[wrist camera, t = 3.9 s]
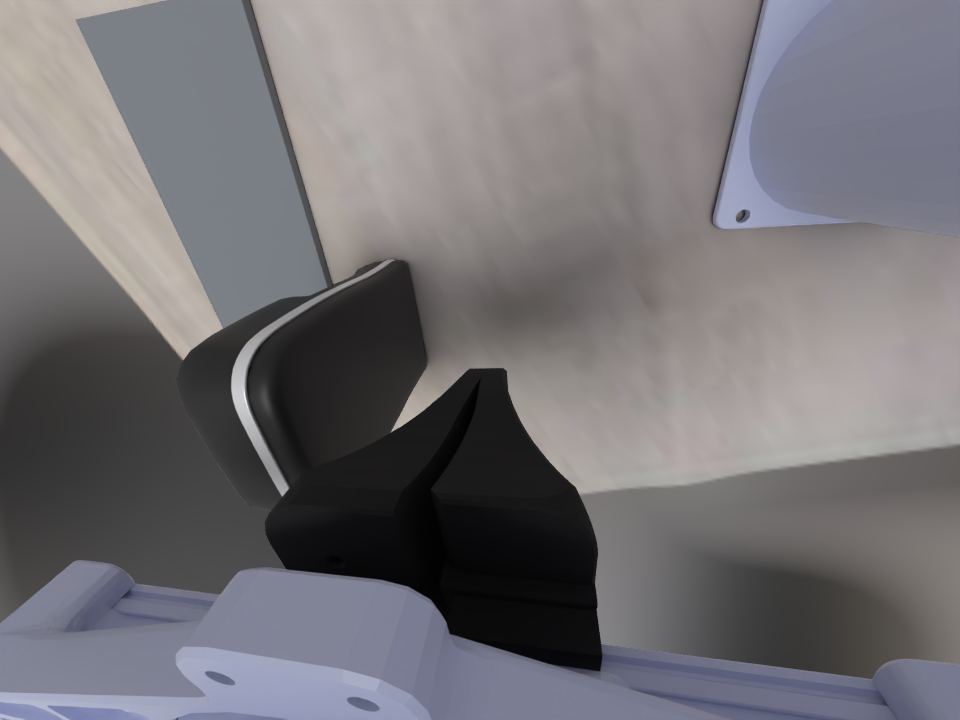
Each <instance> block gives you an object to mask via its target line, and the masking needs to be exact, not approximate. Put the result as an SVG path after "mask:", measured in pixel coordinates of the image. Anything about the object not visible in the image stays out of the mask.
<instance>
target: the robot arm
mask: <svg viewBox="0 0 960 720" xmlns="http://www.w3.org/2000/svg"><path fill="white" fill-rule="evenodd" d="M741 210H745V216H744V218H743V219H742V220H740V221H738V222H737V221H736V215H737V214H738V212H740V211H741ZM853 222H864V223H870V224H876V225H882V226H889V227H895V228H901V229H908V230H914V231H920V232H927V233H933V234H939V235H945V236H952V237H958V238H960V0H764V1H763V6H762V10H761V14H760V18H759V23H758V27H757V31H756V36H755V40H754V44H753V48H752V53H751V57H750V61H749V65H748V70H747V74H746V78H745V82H744V87H743V91H742V95H741V99H740V104H739V108H738V112H737V117H736V121H735V125H734V129H733V134H732V138H731V142H730V146H729V151H728V155H727V159H726V163H725V168H724V172H723V176H722V181H721V185H720V189H719V193H718V198H717V202H716V206H715V210H714V215H713V223H714V225H715V226H716V227H718V228H721V229H742V228H761V227H779V226H798V225H816V224H835V223H853ZM265 531H266V535H267V538H268V540H269V542H270V544H271V546H272V547H273V549H274V550H275V552H276V553H277V555H278V557H279V558H280V560H281V561H282V563H283V564H284V566H285V568H286V569H287V570H286V569H276V568H268V567H265V568H254V569H246V570H242V571H239V572H238V573H237V574H236V576H235V577H234V578H233V579H232V580H231V582H230V583H229V584H228V585H227V587H226V588H225V590H224V591H223V592H222V593H221V595H218V594H210V593H202V592H194V591H187V590H179V589H172V588H164V587H157V586H149V585H141V584H134V580H133V579H132V578H131V576H130V575H128V573H127V572H125V571H124V570H123V569H121V568H119V567H117V566H115V565H112V564H108V563H99V562H91V561H83V560H79V561H75V562H73V563H72V564H71V565H69V566H68V567H67V568H66V569H65V570H63V571H62V572H61V573H60V574H59V575H57V576H56V577H55V578H54V579H53V580H52V581H50V582H49V583H48V584H47V585H46V586H44V587H43V588H42V589H41V590H40V591H38V592H37V593H36V594H35V595H34V596H33V597H31V598H30V599H29V600H28V601H27V602H25V603H24V604H23V605H22V606H21V607H19V608H18V609H17V610H16V611H15V612H14V613H12V614H11V615H10V616H9V617H8V618H6V619H5V620H4V621H3V622H2V623H1V624H0V720H960V664H952V663H943V662H935V661H926V660H918V659H899V660H894V661H890V662H888V663H886V664H884V665H882V666H881V667H880V668H879V669H878V670H877V672H876V674H875V675H874V678H873V679H865V678H857V677H850V676H842V675H834V674H827V673H819V672H811V671H804V670H796V669H788V668H780V667H773V666H765V665H757V664H750V663H742V662H734V661H727V660H718V659H711V658H703V657H695V656H688V655H680V654H672V653H665V652H657V651H650V650H641V649H634V648H626V647H619V646H611V645H603V644H601V640H600V632H599V625H598V618H597V610H596V609H597V595H596V588H595V576H596V567H597V558H598V548H597V541H596V537H595V534H594V530H593V527H592V524H591V521H590V519H589V516H588V513H587V511H586V509H585V506H584V504H583V502H582V500H581V498H580V495H579V493H578V491H577V489H576V487H574V486H573V485H572V484H571V483H570V482H569V481H568V480H567V479H566V478H565V477H564V476H563V475H562V474H561V473H559V472H558V471H557V470H556V468H555V467H554V466H553V465H552V464H551V463H550V462H549V461H548V460H547V459H546V457H545V456H544V455H543V453H542V452H541V451H540V450H539V448H538V447H537V446H536V445H535V443H534V442H533V441H532V439H531V438H530V436H529V435H528V433H527V431H526V430H525V428H524V426H523V425H522V423H521V421H520V419H519V417H518V415H517V413H516V411H515V409H514V406H513V404H512V401H511V398H510V395H509V392H508V383H507V371H506V370H505V369H504V368H486V369H469V370H468V371H466V372H465V373H464V374H463V375H462V376H461V377H460V378H459V379H458V380H457V381H456V382H455V383H454V384H453V385H452V386H451V387H450V388H449V389H448V390H447V391H446V392H445V393H444V394H443V395H442V396H441V397H439V398H438V399H437V400H436V401H435V402H433V403H432V404H431V405H430V406H429V407H427V408H426V409H425V410H424V411H423V412H421V413H420V414H419V415H417V416H416V417H415V418H413V419H412V420H410V421H409V422H407V423H406V424H404V425H403V426H401V427H400V428H398V429H396V430H395V431H393V432H391V433H389V434H388V435H386V436H384V437H382V438H381V439H379V440H377V441H375V442H373V443H372V444H369V445H367V446H365V447H363V448H361V449H359V450H357V451H355V452H353V453H350V454H348V455H346V456H343V457H341V458H339V459H336V460H333V461H331V462H328V463H325V464H323V465H320V466H317V467H315V468H312V469H309V470H306V471H303V472H302V473H301V474H300V475H299V476H298V477H297V479H296V480H295V481H294V483H293V484H292V485H291V486H290V488H289V489H288V490H287V491H286V493H285V494H284V495H283V497H282V498H281V499H280V500H279V502H278V503H277V504H276V505H275V507H274V508H273V509H272V510H271V512H270V513H269V514H268V517H267V519H266V521H265Z"/></svg>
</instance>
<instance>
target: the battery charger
mask: <svg viewBox="0 0 960 720" xmlns="http://www.w3.org/2000/svg"><path fill="white" fill-rule="evenodd" d="M426 367H427V362H426V356H425V351H424V345H423V340H422V335H421V330H420V325H419V319H418V314H417V309H416V305H415V300H414V295H413V290H412V285H411V280H410V276H409V271H408V267H407V264H406V263H405V262H403V261H395V260H385V261H384V262H377V263H373V264H370V265H366V266H364V267H363V268H360V269H358V270H357V272H356V273H355V275H353V276H352V277H350V278H348V279H346V280H344V281H341V282H339V283H336V284H334V285H332V286H330V287H327V288H325V289H323V290H321V291H319V292H316V293H314V294H312V295H310V296H297V297H288V298H283V299H280V300H278V301H275V302H273V303H271V304H269V305H267V306H265V307H263V308H261V309H259V310H257V311H255V312H253V313H251V314H249V315H247V316H245V317H244V318H242V319H240V320H238V321H236V322H234V323H233V324H231V325H229V326H227V327H225V328H224V329H222V330H220V331H218V332H217V333H215V334H213V335H211V336H210V337H209V338H207V339H206V340H204V341H203V342H202V343H200V344H199V345H198V346H196V347H195V348H194V349H192V350H191V351H190V352H189V354H188V355H187V356H186V358H185V359H184V360H183V362H182V363H181V365H180V369H179V372H178V375H177V390H178V396H179V398H180V401H181V403H182V405H183V408H184V410H185V412H186V413H187V415H188V417H189V419H190V420H191V422H192V423H193V425H194V427H195V428H196V430H197V432H198V434H199V435H200V437H201V439H202V440H203V442H204V444H205V445H206V447H207V448H208V450H209V452H210V454H211V455H212V457H213V458H214V460H215V461H216V463H217V464H218V466H219V467H220V469H221V470H222V471H223V473H224V474H225V476H226V477H227V479H228V480H229V482H230V483H231V485H232V486H233V487H234V489H235V490H236V492H237V493H238V494H239V495H240V496H241V497H242V498H243V499H244V500H245V501H246V502H247V503H248V504H249V505H250V506H252V507H255V508H259V509H263V510H267V511H271V510H272V509H273V508H274V507H275V505H276V504H277V503H278V502H279V500H280V499H281V498H282V497H283V495H284V494H285V493H286V491H287V490H288V489H289V488H290V486H291V485H292V484H293V483H294V481H295V480H296V479H297V477H298V476H299V475H300V474H301V473H302V472H303V471H306V470H309V469H312V468H315V467H317V466H320V465H323V464H325V463H328V462H331V461H333V460H336V459H339V458H341V457H343V456H346V455H348V454H350V453H353V452H355V451H357V450H359V449H361V448H363V447H365V446H367V445H369V444H372V443H373V442H375V441H377V440H379V439H381V438H382V437H384V436H386V435H388V434H389V433H391V431H392V429H393V427H394V425H395V423H396V421H397V419H398V418H399V416H400V414H401V412H402V410H403V408H404V406H405V404H406V402H407V400H408V398H409V396H410V394H411V392H412V391H413V389H414V387H415V385H416V384H417V382H418V380H419V378H420V377H421V375H422V374H423V372H424V370H425V369H426Z"/></svg>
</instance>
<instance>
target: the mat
mask: <svg viewBox="0 0 960 720" xmlns="http://www.w3.org/2000/svg"><path fill="white" fill-rule="evenodd" d="M76 22H77V24H78V26H79V28H80V30H81V32H82V34H83V36H84V39H85V41H86V43H87V45H88V47H89V49H90V51H91V53H92V55H93V57H94V59H95V62H96V64H97V66H98V68H99V70H100V72H101V74H102V76H103V78H104V80H105V82H106V85H107V87H108V89H109V91H110V93H111V95H112V97H113V99H114V101H115V103H116V105H117V108H118V110H119V112H120V114H121V116H122V118H123V120H124V122H125V124H126V126H127V128H128V130H129V133H130V135H131V137H132V139H133V141H134V143H135V145H136V147H137V149H138V151H139V153H140V156H141V158H142V160H143V162H144V164H145V166H146V168H147V170H148V172H149V174H150V176H151V179H152V181H153V183H154V185H155V187H156V189H157V191H158V193H159V195H160V197H161V199H162V202H163V204H164V206H165V208H166V210H167V212H168V214H169V216H170V218H171V220H172V222H173V225H174V227H175V229H176V231H177V233H178V235H179V237H180V239H181V241H182V243H183V245H184V247H185V250H186V252H187V254H188V256H189V258H190V260H191V262H192V264H193V266H194V268H195V270H196V273H197V275H198V277H199V279H200V281H201V283H202V285H203V287H204V289H205V291H206V293H207V296H208V298H209V300H210V302H211V304H212V306H213V308H214V310H215V312H216V314H217V316H218V319H219V321H220V323H221V325H222V327H223V329H224V328H225V327H227V326H229V325H231V324H233V323H234V322H236V321H238V320H240V319H242V318H244V317H245V316H247V315H249V314H251V313H253V312H255V311H257V310H259V309H261V308H263V307H265V306H267V305H269V304H271V303H273V302H275V301H278V300H280V299H283V298H288V297H297V296H310V295H312V294H314V293H316V292H319V291H321V290H323V289H325V288H327V287H330V286H332V282H331V279H330V275H329V272H328V268H327V265H326V262H325V258H324V255H323V251H322V248H321V244H320V241H319V237H318V234H317V231H316V227H315V224H314V220H313V217H312V213H311V210H310V207H309V203H308V200H307V196H306V193H305V189H304V186H303V183H302V179H301V176H300V172H299V169H298V165H297V162H296V159H295V155H294V152H293V148H292V145H291V141H290V138H289V134H288V131H287V128H286V124H285V121H284V117H283V114H282V110H281V107H280V104H279V100H278V97H277V93H276V90H275V86H274V83H273V80H272V76H271V73H270V69H269V66H268V62H267V59H266V56H265V52H264V49H263V45H262V42H261V38H260V35H259V32H258V28H257V25H256V21H255V18H254V14H253V11H252V7H251V4H250V1H249V0H167V1H162V2H158V3H153V4H148V5H143V6H139V7H134V8H129V9H124V10H120V11H115V12H110V13H105V14H101V15H96V16H91V17H86V18H82V19H77V20H76Z"/></svg>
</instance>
